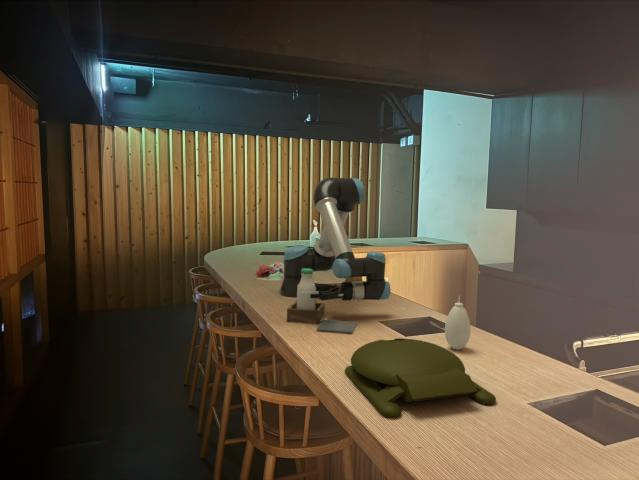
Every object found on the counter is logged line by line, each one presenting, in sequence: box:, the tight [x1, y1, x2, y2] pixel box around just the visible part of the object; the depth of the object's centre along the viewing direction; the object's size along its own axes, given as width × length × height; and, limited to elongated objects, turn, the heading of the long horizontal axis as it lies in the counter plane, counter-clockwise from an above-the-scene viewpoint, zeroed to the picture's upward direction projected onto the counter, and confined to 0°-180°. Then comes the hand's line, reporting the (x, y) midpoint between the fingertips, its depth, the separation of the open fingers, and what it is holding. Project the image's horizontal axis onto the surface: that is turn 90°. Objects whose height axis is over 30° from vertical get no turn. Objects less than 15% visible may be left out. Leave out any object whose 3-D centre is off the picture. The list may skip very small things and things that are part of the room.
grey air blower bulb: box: [444, 295, 471, 351], centre depth 150 cm, size 8×8×18 cm
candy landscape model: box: [254, 261, 284, 282], centre depth 269 cm, size 25×24×9 cm
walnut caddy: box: [286, 300, 326, 325], centre depth 183 cm, size 12×12×5 cm
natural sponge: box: [344, 277, 363, 283], centre depth 235 cm, size 9×9×10 cm
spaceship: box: [344, 338, 497, 419], centre depth 124 cm, size 35×31×10 cm
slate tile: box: [316, 319, 357, 335], centre depth 172 cm, size 13×13×1 cm
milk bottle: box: [296, 268, 317, 310], centre depth 182 cm, size 8×8×20 cm
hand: (299, 291), depth 182 cm, fingers open, 13 cm apart
